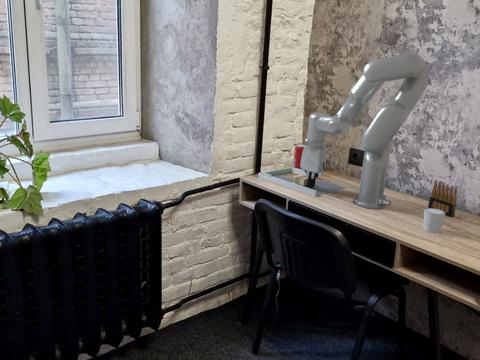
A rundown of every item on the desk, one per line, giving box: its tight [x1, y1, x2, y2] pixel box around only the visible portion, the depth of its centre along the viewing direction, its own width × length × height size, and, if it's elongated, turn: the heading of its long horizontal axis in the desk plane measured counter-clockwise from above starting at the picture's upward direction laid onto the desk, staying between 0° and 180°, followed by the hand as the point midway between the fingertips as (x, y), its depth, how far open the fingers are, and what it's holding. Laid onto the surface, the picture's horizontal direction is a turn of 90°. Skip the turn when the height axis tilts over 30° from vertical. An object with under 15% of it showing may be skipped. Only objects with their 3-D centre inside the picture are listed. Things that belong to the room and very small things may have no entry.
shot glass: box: [422, 207, 446, 234], centre depth 172 cm, size 7×7×7 cm
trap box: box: [257, 166, 347, 197], centre depth 216 cm, size 32×22×4 cm
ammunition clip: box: [427, 180, 458, 218], centre depth 191 cm, size 11×2×12 cm, turn 33°
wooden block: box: [292, 174, 309, 188], centre depth 210 cm, size 6×6×4 cm
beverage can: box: [292, 144, 306, 170], centre depth 243 cm, size 6×6×12 cm
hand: (310, 186), depth 206 cm, fingers closed
